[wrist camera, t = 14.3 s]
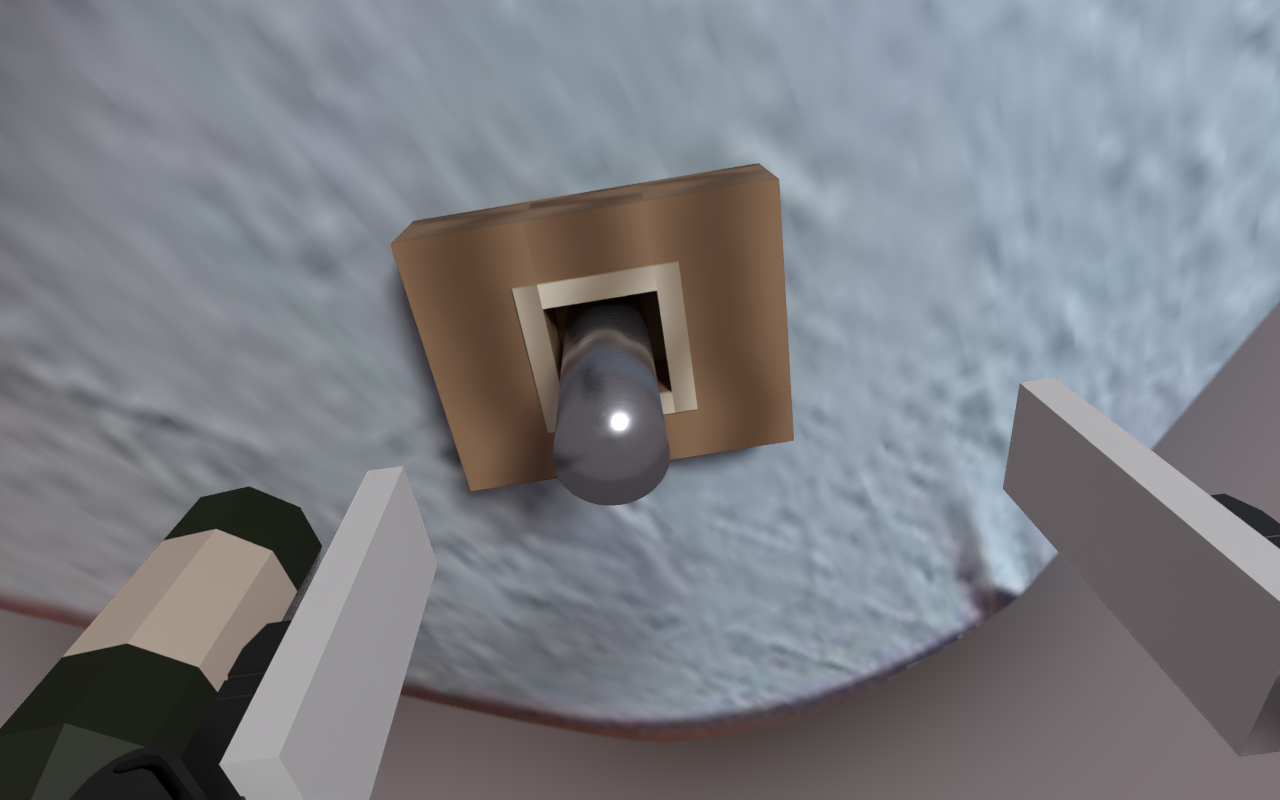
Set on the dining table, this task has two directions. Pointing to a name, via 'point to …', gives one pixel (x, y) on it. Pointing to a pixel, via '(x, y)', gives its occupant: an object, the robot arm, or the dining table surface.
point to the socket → (594, 270)
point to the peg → (609, 405)
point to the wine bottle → (160, 644)
